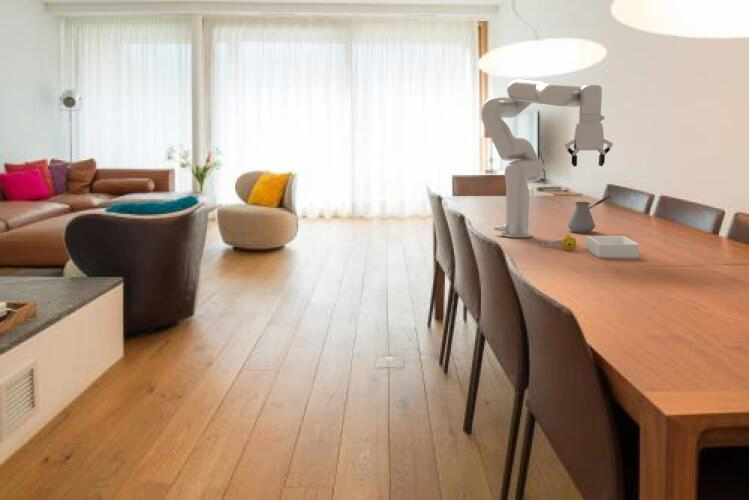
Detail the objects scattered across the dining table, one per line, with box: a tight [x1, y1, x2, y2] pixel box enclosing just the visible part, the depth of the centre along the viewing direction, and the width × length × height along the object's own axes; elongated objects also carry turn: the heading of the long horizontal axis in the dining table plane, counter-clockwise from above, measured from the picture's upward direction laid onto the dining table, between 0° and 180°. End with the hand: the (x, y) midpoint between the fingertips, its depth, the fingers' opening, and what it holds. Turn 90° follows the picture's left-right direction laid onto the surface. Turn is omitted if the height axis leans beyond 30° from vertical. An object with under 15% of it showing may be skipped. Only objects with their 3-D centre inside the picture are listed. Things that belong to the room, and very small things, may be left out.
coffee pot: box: [567, 195, 612, 234], centre depth 269 cm, size 21×12×15 cm, turn 113°
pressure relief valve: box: [541, 233, 577, 251], centre depth 230 cm, size 6×12×10 cm
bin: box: [585, 235, 640, 260], centre depth 220 cm, size 13×17×5 cm
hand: (587, 166), depth 230 cm, fingers open, 9 cm apart
